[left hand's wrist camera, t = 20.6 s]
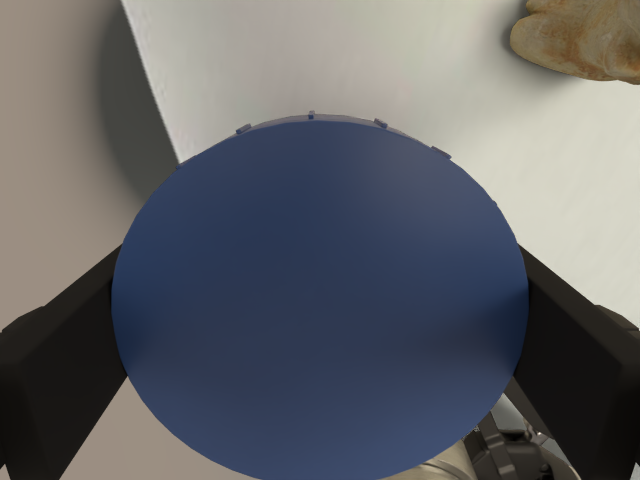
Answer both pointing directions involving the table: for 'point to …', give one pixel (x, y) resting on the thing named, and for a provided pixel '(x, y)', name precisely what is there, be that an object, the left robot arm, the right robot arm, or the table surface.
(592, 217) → the table surface
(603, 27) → the sculpture
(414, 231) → the lid
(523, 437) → the right robot arm
